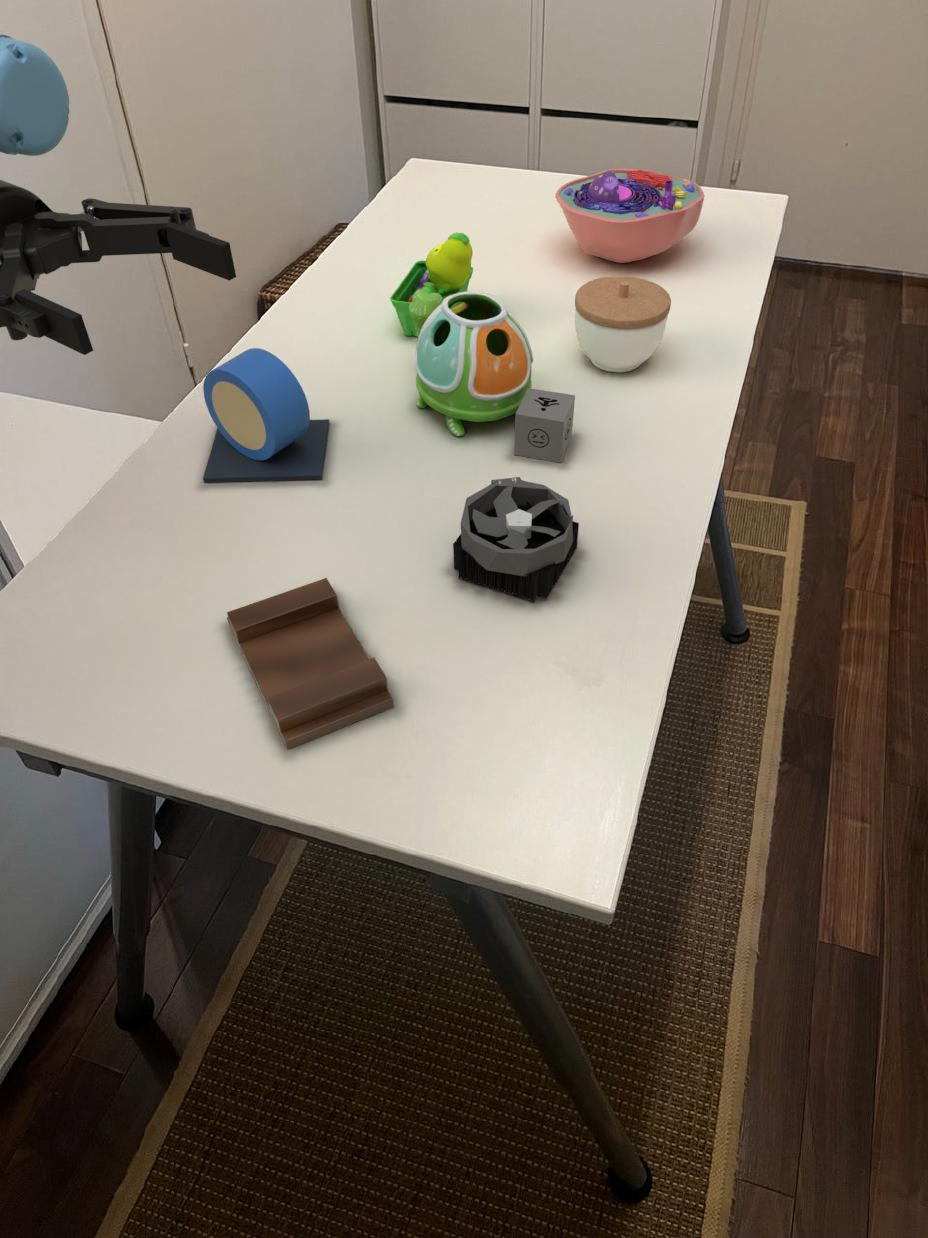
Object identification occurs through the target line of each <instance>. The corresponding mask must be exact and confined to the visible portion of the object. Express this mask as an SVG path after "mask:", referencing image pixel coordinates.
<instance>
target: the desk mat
mask: <svg viewBox="0 0 928 1238" xmlns="http://www.w3.org/2000/svg"><path fill="white" fill-rule="evenodd" d="M329 431H330V419H310V422H309V427H308V429H307V431H306V433H305V434H304V435H302V436H301V437H300V438H298V439H297V440H295V441H294V442H292V443H291V444H289V445H288V446H286V447H285V448H283V449H282V450H280V451H279V452H277V453H276V454H275V455H273V456H272V457H270V458H268V459H267V460H254V459H251V458H249V457H247V456H245V455H243V454H242V453H240V452H239V451H238V450H237V449H235V448H234V447H233V446H232V445H231V444H230V443H229V442H228V441H227V440H226V439H225V437H224V436H223V435H222V434H221V432H220V431H219V429H218V428H217V427H216V431H215V434H214V439H213V441H212V445H211V448H210V452H209V456H208V460H207V463H206V466H205V470H204V474H203V477H202V480H203V483H204V484H205V483H208V484H209V483H240V482H241V483H242V482H243V483H244V482H278V481H279V482H281V481H287V482H288V481H320V480H322V479H323V473H324V466H325V458H326V452H327V443H328V438H329V437H328V436H329Z"/></svg>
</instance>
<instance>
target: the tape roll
mask: <svg viewBox="0 0 928 1238" xmlns="http://www.w3.org/2000/svg"><path fill="white" fill-rule="evenodd" d="M202 387H203V388H202V389H203V391H202V392H203V397H204V401H205V405H206V408H207V411H208V413H209V415H210V417H211V419H212V422H213V423H214V425H215V426H216V429H217V428H218V429H219V431H220V432H221V434H222V435H223V436H224V437H225V439H226V440H227V441H228V442H229V443H230V444H231V445H232V446H233V447H234V448H235V449H237V450H238V451H239V452H240V453H242V454H243V455H245V456H247V457H249V458H251V459H254V460H267V459H268V458H270V457H272V456H273V455H275V454H276V453H277V452H279V451H280V450H282V449H283V448H285V447H286V446H288V445H289V444H291V443H292V442H294V441H295V440H297V439H298V438H300V437H301V436H302V435H304V434H305V433H306V431H307V429H308V427H309V422H310V420H311V411H310V405H309V402H308V399H307V396H306V394H305V391H304V388H303V387H302V386H301V383H300V381H299V380H298V378H297V377H296V376H295V374H294V373H293V372H292V370H291V369H290V368H289V367H288V366H287V364H285V362H284V361H282V360H281V359H280V358H279V357H278V356H276V355H274V354H273V353H272V352H270V351H268V350H266V349H263V348H258V347H252V348H249V349H247V350H244V351H243V352H241V353H239V354H238V355H236V356H234V357H232V358H231V359H229V360H227V361H225V362H224V363H222V364H219V366H217V367H215V368H213V369H212V370H210V371H209V372H208V373H207V374H206V375H205V378H204V380H203V385H202Z"/></svg>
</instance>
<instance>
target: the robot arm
mask: <svg viewBox="0 0 928 1238" xmlns="http://www.w3.org/2000/svg"><path fill="white" fill-rule="evenodd" d="M69 114H70V95H69V90H68V87H67V84H66V81H65V79H64V76H63V74H62V72H61V70H60V68H59V67H58V65H57V64H56V63H55V62H54V60H53V59H52V58H51V56H49V55H48V54H47V52H45V51H44V50H42V48H40V47H39V46H36V45H35V44H33V43H30V42H26V41H23V40H17V39H16V38H13V37H11V36H9V35H6V34H2V33H1V34H0V153H2V154H6V155H11V156H12V155H13V156H16V155H22V156H31V157H37V156H42V155H45V154H48V153H49V152H51V151H52V150H53V149H55V148H56V147H57V146H58V145H59V144H60V143H61V141H62V140H63V138H64V136H65V134H66V132H67V129H68V125H69V121H70V118H69ZM81 206H82V210H83V211H82V212H79V213H73V214H72V213H69V212H68V213H67V212H56V211H54V210H52V209H51V208H50V207H49V206H48V205H47V204H46V203H45V202H44V201H43V200H42V199H41V198H40V197H39V196H38V195H36V194H35V193H34V192H32V191H30V190H29V189H26V188H25V187H21V186H19V185H16V184H13V183H11V182H8V181H5V180H2V179H0V328H4V327H5V328H6V330H7V333H8V335H9V338H10V340H12V341H22V340H24V339H26V338H27V337H28V335H29V336H30V337H32V338H37V339H40V338H43V337H46V338H48V339H50V340H52V341H54V342H56V343H58V344H60V345H63V346H64V347H66V348H69V349H71V350H73V351H75V352H77V353H78V354H81V355H83V356H86V355H88V354H89V353H92V352H94V348H93V345H92V342H91V339H90V336H89V334H88V330H87V327H86V324H85V321H84V319H83V316H82V314H81V313H79V312H77V311H75V310H72V309H70V308H67V307H65V306H63V305H61V304H59V303H56V302H54V301H52V300H50V299H47V298H45V297H43V296H41V295H39V294H37V293H34V292H33V291H36V286H37V282H38V280H39V279H40V276H41V275H44V274H45V275H49V274H51V273H53V272H55V271H57V270H59V269H60V268H61V267H62V268H63V267H69V266H70V265H71V264H83V263H84V264H85V263H99V262H100V261H101V260H102V258H103V257H106V256H107V257H108V256H109V257H110V256H131V255H154V254H171V256H172V259H173V260H174V261H177V262H179V263H182V264H184V265H188V266H190V267H193V268H194V269H195V268H196V269H198V270H200V271H203V272H205V273H208V274H211V275H214V276H215V277H219V278H222V279H224V280H226V281H231V280H233V279H235V278H237V275H236V274H237V273H236V269H235V264H234V259H233V254H232V253H233V252H232V248H231V244H230V243H231V242H229V241H226V240H223V239H220V238H217V237H216V236H213V235H210V234H209V233H207V232H204V231H202V230H199V229H197V226H196V221H195V217H194V213H193V209H192V207H187V206H170V205H157V204H156V205H153V204H137V203H122V202H108V201H105V200H100V199H96V198H92V197H91V198H90V197H89V198H88V197H87V198H86V199H83V200H82V201H81ZM82 232H83V234H84V238H85V241H86V244H87V247H88V249H83V237H82Z"/></svg>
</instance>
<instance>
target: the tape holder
mask: <svg viewBox="0 0 928 1238" xmlns="http://www.w3.org/2000/svg"><path fill="white" fill-rule="evenodd" d="M226 616H227V617H226V621H227V623H228V627H229V628H230V630H231V633H232V635H233V637H234V639H235V641H236V644H237V646H238V647H239V650H240V652H241V654H242V656H243V658H244V660H245V662H246V665H247V668H248V669H249V672H250V673H251V675H252V678H253V680H254V682H255V684H256V686H257V688H258V690H259V692H260V695H261V697H262V699H263V701H264V703H265V705H266V708H267V709H268V712H269V714H270V716H271V719H272V720H273V724H274V725H275V727H276V729H277V731H278V734H279V736H280V738H281V740H282V742H283V744H284V746H285V748H286V749H287V750H290V749H293V748H295V747H297V746H299V745H302V744H304V743H306V742H309V741H312V740H314V739H317V738H319V737H321V736H324V735H327V734H329V733H331V732H334V731H337V730H339V729H342V728H344V727H347V726H349V725H351V724H352V725H353V724H354V723H357V722H359V721H361V720H364V719H367V718H369V717H372V716H374V715H376V714H380V713H381V712H384V711H387V710H389V709H392V708H394V707H395V703H394V698H393V696H392V694H391V693H390V691H389V687H388V686H389V685H388V679H387V676H386V674H385V672H384V671H383V670H382V667H381V666H380V664H379V663H378V661H377V659H376V658H375V657H372V658H371V657H369V656H368V654H367V653H366V651H365V649H364V647H363V645H362V643H361V642H360V641H359V639H358V637H357V635H356V634H355V633H354V631H353V629H352V627H351V625H350V624H349V622H348V621H347V618H346V617H345V615H344V614H343V612H342V610H341V609H340V606H339V599H338V594H337V593H336V591H335V590H334V588H333V586H332V585H331V582H330V581H329V579H328V578H327V577H325V578H322V579H318V580H316V581H313V582H311V583H310V582H309V583H307V584H304V585H302V586H299V587H296V588H293V589H290V590H287V591H284V592H280V593H278V594H275V595H273V596H270V597H267V598H264V599H262V600H258V601H255V602H252V603H250V604H247V605H245V606H240V607H238V608H236V609H232V610H230V611H227V612H226Z"/></svg>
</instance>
